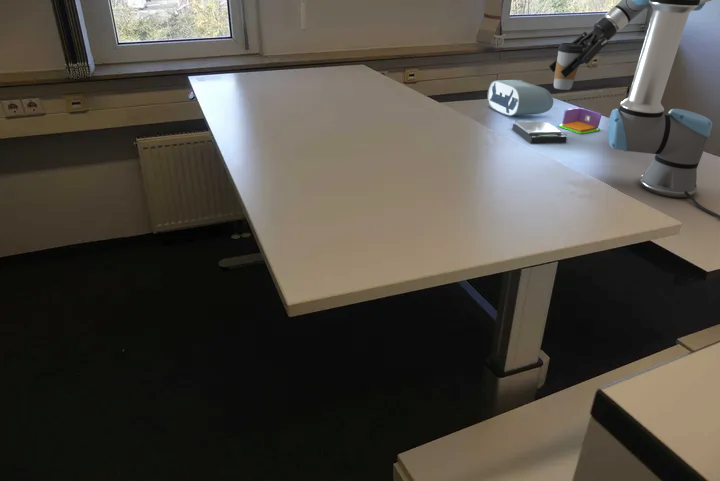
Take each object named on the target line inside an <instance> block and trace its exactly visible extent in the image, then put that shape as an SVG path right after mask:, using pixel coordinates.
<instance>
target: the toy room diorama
mask: <svg viewBox="0 0 720 481" xmlns="http://www.w3.org/2000/svg"><path fill="white" fill-rule="evenodd" d="M602 115H603V114H602V113H600V112H597V111H593V110H591V109H590V110H589V109H588V108H583V107H575V108H569V109H565V110H564V113H563V117H562V121H561V123H559V124H558V127H559V128H561V129H565V130H568V131H571V132H573V133H576V134H579V135H585V134H590V133H595V132H599V131H600V128H599V126H600V122H601V119H602Z"/></svg>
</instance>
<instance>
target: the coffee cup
mask: <svg viewBox="0 0 720 481" xmlns="http://www.w3.org/2000/svg"><path fill="white" fill-rule="evenodd" d="M582 46H583V45H580V44H574V43H572V42H562V43H560V44H559V46H558V49H557V58H556V60H557V63H556V69H555V71H554V77H553V88H554V89H556V90H561V91H567V90H568V91H569V90H571V88H573V84H574V81H575V78H576V75H577V72H578V68H579V66H578V67H577V68H576V69H575V70H574V71H572V72H571V73H570V74H569V75H568V76H567V77H566V78H565V77H564V76H563V74H562V73H561V71H562V70H563V69H564V68H565V67H566V66H567V65H569V64H570V63H571V62H572V61H573V60H574V59H575V58H577V57H578V56H580V55H581V53H582V52H583V51H584V48H583V49H582ZM577 60H578V58H577Z"/></svg>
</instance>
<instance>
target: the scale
mask: <svg viewBox="0 0 720 481" xmlns="http://www.w3.org/2000/svg"><path fill="white" fill-rule="evenodd" d="M511 130H512V131H514V132H515V133H516V134H518V135H519V136H520V137H522V138H523V139H524V140H525V141H527V142H528V143H529V144H533V145H537V144H566V143H567V139H568V136H567V135H565V134H564V133H563V131H561V130H560V129H558V128H557V127H555V126H554V125H552V124H550V123H549V122H547V121H515V122H514V123H513V124H512V129H511Z"/></svg>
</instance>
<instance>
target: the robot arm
mask: <svg viewBox="0 0 720 481" xmlns="http://www.w3.org/2000/svg"><path fill="white" fill-rule="evenodd" d="M711 1H712V0H620V1H619V2H618V3H617V4H616V5H614V6H613V7H612V8H611V9H610V10H609V11H607V12H606V13H605V14H604V15H603V17H601V18H600V19H599V20H598V21H597V22H595V23H594V25H593V30H591V31H590V32H586V31H584V32H583V33H581V35H579V36H578V37H577V38H576V39H574V40H573V41H572V42H571V43H574V44H580V45H583V46H582V49H583V52H582V53H581V55H580V56H578V57H577V58H578V60H577V58H575V59H574V60H573V61H572V62H571V63H570V64H569V65H567V66H566V67H565V68H564V69H563V70H562V71H561V73H562V74H563V76H564V77H565V78H566V77H567V76H568V75H569V74H570V73H571V72H572V71H574V70H575V69H576V68H577V67H578V68H579V67H580V66H581V65H583V64H585V65H587V64H589V63H590V62H591V61H592V60H593V59H594V57H595V56H596V55H597V54H598V53H599V52H600V51H601V50H602V49H603V48H604V47H606V46H607V45H608V44H609V42H608V41H610V40H611V39H612V38H613V37H615V36H616V35H617V33H619V32H620V31H621V30H623V29H625V26H627V25H628V24H629V23H630V22H631V21H632V20H633V19H635V18H636V17H637V16H638V15H640V14H641V13H642V12H643V11H644V10H645V9H653V10H652V14H651V17H650V20H649V24H648V28H647V31H646V35H645V38H644V41H643V44H642V48H641V52H640V55H639V58H638V61H637V66H636V68H635V72H634V76H633V79H632V83H631V86H630V89H629V92H628V96H627V98H625V99H624V100H623V101H621V102H620V104H619V108H614V109H613V110H612V111H611V112H610V115H609V120H608V127H607V138H608V144H609V146H610V147H611V148H612V149H613V150H617V151H624V152H632V153H641V154H652V155H654V158H653V160H652V162H651V163H650V165H649V166H648V168H647V169H646V171H645V172H643V174H642V175H641V176H640V179H639V185H640V186H641V187H642V188H643V189H644V190H646V191H649V192H651V193H653V194H654V195H655V194H656V195H659V196H662V197H667V198H672V199H673V198H674V199H690V200H691V202H692V203H693V204H694V205H695V207H697V208H699V209H701V210H702V211H704V212H706V213H708V214H710V215H712V216H714V217H716V218H718V219H720V214H718V213H717V212H714V211H712V210H709V209H708V208H706V207H704V206H702V205H701V204H699V202H697V201H696V199H695V198H694V196H695V195H696V192H697V188H698V187H697V186H698V184H697V180H698V179H697V178H698V176H697V174H698V173H697V170H698V167H699V164H700V161H701V159H702V156H703V154H704V150H705V148H706V147H707V146H706V145H707V143H708V141H709V138H710V137H711V131H712V128H713V122H712V121H711V119H709V118H708V117H707V116H705V115H702V114H700V113H697V112H693V111H690V110H686V109H681V108H672V109H669V111H668V114H667V113H664V111H665V108H664V106H663V105H662V98H663V96H664V93H665V89H666V87H667V83H668V80H669V77H670V74H671V70H672V68H673V65H674V61H675V59H676V55H677V52H678V49H679V46H680V43H681V40H682V38H683V34H684V31H685V28H686V24H687V22H688V18H689V15H690V13H691V12H692V11H695V12H696V11H700V10H702V8H703V7H704V6H705V5H706V3H708V2H711ZM556 63H557V59H555V60H554V61H553V62H552V63H551V64H549V66H548V67H549V69H550V70H551V72H552V73H555V69H556Z"/></svg>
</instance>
